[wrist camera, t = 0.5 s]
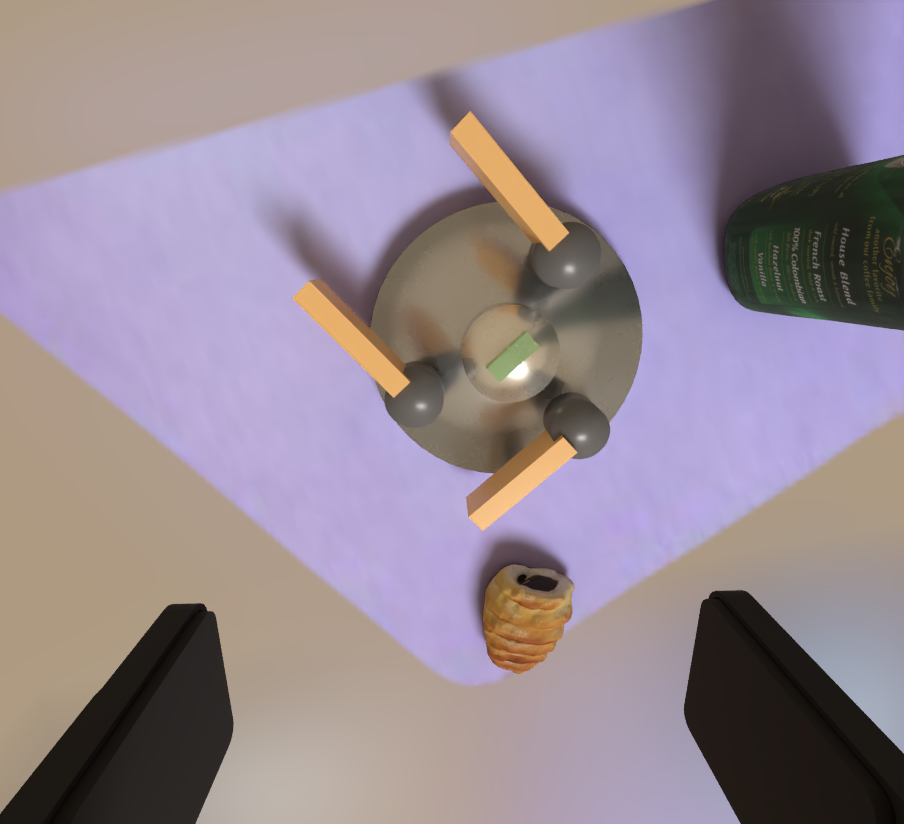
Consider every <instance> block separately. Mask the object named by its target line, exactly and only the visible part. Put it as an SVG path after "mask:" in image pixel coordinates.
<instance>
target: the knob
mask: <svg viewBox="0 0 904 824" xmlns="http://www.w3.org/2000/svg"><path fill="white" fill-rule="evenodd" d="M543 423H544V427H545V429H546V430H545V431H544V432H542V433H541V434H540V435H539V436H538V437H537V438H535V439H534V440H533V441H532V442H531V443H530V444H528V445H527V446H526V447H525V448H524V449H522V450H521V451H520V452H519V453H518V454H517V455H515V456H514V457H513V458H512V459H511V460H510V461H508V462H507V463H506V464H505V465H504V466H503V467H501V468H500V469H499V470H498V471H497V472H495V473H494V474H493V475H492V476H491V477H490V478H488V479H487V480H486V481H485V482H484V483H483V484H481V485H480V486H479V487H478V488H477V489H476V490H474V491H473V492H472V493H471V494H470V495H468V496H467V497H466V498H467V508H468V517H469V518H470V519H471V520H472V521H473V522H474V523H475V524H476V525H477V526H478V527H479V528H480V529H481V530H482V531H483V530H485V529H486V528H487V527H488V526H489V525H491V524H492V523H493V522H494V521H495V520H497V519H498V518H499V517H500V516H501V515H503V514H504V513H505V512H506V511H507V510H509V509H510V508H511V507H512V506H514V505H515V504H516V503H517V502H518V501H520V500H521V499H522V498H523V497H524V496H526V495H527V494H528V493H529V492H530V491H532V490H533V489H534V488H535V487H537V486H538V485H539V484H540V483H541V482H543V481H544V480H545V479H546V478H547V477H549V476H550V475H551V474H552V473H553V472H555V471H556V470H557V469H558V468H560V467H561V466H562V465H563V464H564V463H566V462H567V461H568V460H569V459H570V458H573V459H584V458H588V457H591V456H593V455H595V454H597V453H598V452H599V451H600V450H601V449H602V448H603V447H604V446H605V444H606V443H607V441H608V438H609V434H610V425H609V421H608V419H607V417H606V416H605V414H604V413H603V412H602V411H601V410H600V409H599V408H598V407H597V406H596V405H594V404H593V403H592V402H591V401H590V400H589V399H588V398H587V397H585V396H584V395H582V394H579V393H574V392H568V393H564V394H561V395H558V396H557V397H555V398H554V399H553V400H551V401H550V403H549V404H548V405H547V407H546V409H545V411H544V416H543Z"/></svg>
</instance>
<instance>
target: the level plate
mask: <svg viewBox="0 0 904 824" xmlns="http://www.w3.org/2000/svg"><path fill="white" fill-rule="evenodd" d="M549 208H550V210H551V211H552V212H553V213H554V215H555V216H556V217H557V218H558V220H559V221H560V222H561V223H565V222H578V223H581V224H584V225H586V226H587V227H589V226H588V225H587V224H585V223H583V222H582V221H580V220H578V219H577V218H575V217H573V216H572V215H570V214H567V213H565V212H562V211H560V210H558V209H555V208H552V207H549ZM589 228H590V227H589ZM590 229H591V230H592V231H593V232H594V233H595V235H596V236H597V238H598V240H599V243H600V247H601V259H600V263H599V266H598V269H597V271H596V272H595V274H594V275H593V276H592V278H591V279H590V280H589V281H587V282H586V283H585V284H583V285H581V286H579V287H576V288H572V289H561V288H557V287H552V286H548V285H545V284H543V283H541V282H540V281H539V280H537V279H536V278H535V276H534V275H533V274H532V272H531V270H530V267H529V262H528V254H529V249H530V246H531V244H532V242H531V241H530V240H529V238H528V237H527V236H526V235H525V234H524V233H523V231H522V230H521V229H520V228H519V227H518V225H517V224H516V223H515V222H514V221H513V219H512V218H511V217H510V216H509V215H508V213H507V212H506V211H505V210H504V209H503V208H502V206H501V205H500V204H499V203H498V202H492V203H486V204H480V205H476V206H473V207H470V208H467V209H464V210H461V211H458V212H456V213H454V214H452V215H450V216H448V217H446V218H443V219H441V220H440V221H438V222H437V223H435V224H434V225H432V226H431V227H429V228H428V229H426V230H425V231H424V232H423V233H422V234H420V235H419V236H418V237H417V238H416V239H415V240H414V241H412V242H411V243H410V244H409V246H408V247H407V248H406V249H405V250H404V251H403V253H402V254H401V255H400V256H399V257H398V258H397V260H396V262H395V263H394V265H393V266H392V268H391V269H390V271H389V272H388V274H387V276H386V278H385V280H384V282H383V284H382V286H381V288H380V291H379V293H378V297H377V300H376V303H375V306H374V309H373V315H372V320H371V326H370V329H371V330H372V331H373V332H374V333H375V334H376V335H377V336H378V337H379V338H380V339H381V340H382V341H383V342H384V343H385V344H386V345H387V346H388V347H389V348H390V349H391V350H392V351H393V352H394V353H395V354H396V355H397V356H398V357H399V358H400V359H401V360H402V361H403V362H404V363H408V362H413V361H420V362H424V363H427V364H429V365H431V366H432V367H434V368H435V369H436V370H437V371H438V372H439V374H440V376H441V378H442V381H443V386H444V402H443V408H442V411H441V413H440V414H439V416H438V417H437V418H436V419H435V420H434V421H433V422H432V423H430V424H429V425H426V426H424V427H419V428H410V427H406V426H403V425H401V424H399V423H397V424H398V425H399V426H400V427H401V428H402V429H403V431H404V432H405V433H406V434H407V435H408V436H409V437H410V438H411V439H412V440H414V441H415V442H416V443H417V444H418V445H419V446H421V447H422V448H423V449H425V450H426V451H428V452H429V453H431V454H433V455H434V456H436V457H438V458H440V459H442V460H444V461H446V462H448V463H450V464H453V465H456V466H459V467H462V468H465V469H469V470H474V471H478V472H485V473H495V472H497V471H498V470H499V469H500V468H501V467H503V466H504V465H505V464H506V463H507V462H508V461H510V460H511V459H512V458H513V457H514V456H515V455H517V454H518V453H519V452H520V451H521V450H522V449H524V448H525V447H526V446H527V445H528V444H530V443H531V442H532V441H533V440H534V439H535V438H537V437H538V436H539V435H540V434H541V433H542V432H544V431H545V430H546V429H545V427H544V423H543V416H544V411H545V409H546V407H547V405H548V404H549V403H550V401H551V400H553V399H554V398H555V397H557V396H558V395H561V394H564V393H568V392H574V393H579V394H582V395H584V396H585V397H587V398H588V399H589V400H590V401H591V402H592V403H593V404H594V405H596V406H597V407H598V408H599V409H600V410H601V411H602V412H603V413H604V414H605V416H606V417H607V419H608V421H609V422H610V421H611V420H612V418H613V417H614V416H615V414H616V413H617V411H618V410H619V408H620V407H621V405H622V404H623V402H624V400H625V398H626V396H627V394H628V392H629V390H630V388H631V386H632V383H633V381H634V378H635V375H636V372H637V369H638V364H639V359H640V355H641V346H642V316H641V311H640V306H639V300H638V297H637V294H636V291H635V288H634V285H633V282H632V280H631V278H630V276H629V274H628V272H627V269H626V267H625V265H624V264H623V263H622V261H621V260H620V258H619V257H618V255H617V254H616V252H615V251H614V250H613V248H612V247H611V246H610V245H609V244H608V243H607V242H606V241H605V240H604V239H603V238H602V237H601V236H600V235H599V234H598V233H597V232H595V231H594V230H593V229H592V228H590ZM375 381H376V380H375ZM376 384H377V387H378V390H379V393H380V395H381V397H382V399H383V401H384V403H385V392H386V390H385V389H384V388H383V387H382V386H381V385H380V384H379V383H378V382H377V381H376Z"/></svg>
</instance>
